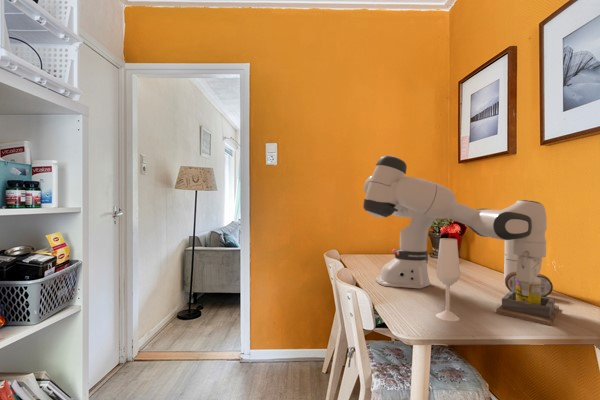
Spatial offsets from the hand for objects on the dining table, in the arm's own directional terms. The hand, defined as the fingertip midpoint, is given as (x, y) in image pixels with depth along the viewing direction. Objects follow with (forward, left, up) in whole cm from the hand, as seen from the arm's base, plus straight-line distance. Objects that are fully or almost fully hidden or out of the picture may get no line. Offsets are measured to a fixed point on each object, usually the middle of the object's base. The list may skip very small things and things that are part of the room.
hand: (528, 292), depth 105 cm
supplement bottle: (0, 0, -5) cm, 5 cm away
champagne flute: (-29, -7, -6) cm, 31 cm away
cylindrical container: (+16, +33, -6) cm, 37 cm away
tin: (+12, +18, -6) cm, 23 cm away
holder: (0, 0, -6) cm, 6 cm away
